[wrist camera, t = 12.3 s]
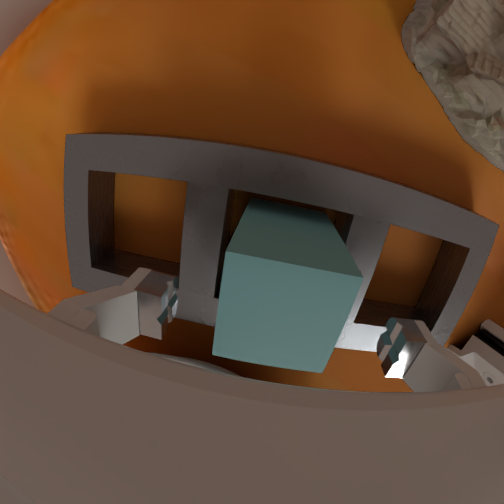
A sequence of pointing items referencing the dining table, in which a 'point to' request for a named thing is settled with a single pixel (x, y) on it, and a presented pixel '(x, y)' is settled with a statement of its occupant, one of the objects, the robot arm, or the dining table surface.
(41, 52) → the dining table surface
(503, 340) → the white arch segment
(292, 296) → the square peg
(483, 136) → the ceramic cottage
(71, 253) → the grey slotted board
